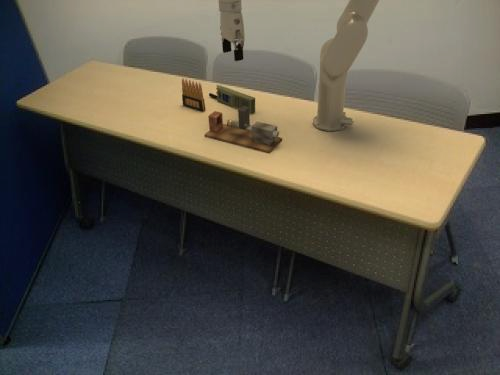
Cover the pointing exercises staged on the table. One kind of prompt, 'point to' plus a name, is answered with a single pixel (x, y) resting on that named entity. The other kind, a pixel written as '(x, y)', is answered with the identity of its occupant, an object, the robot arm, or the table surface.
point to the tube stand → (243, 134)
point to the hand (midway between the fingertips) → (232, 56)
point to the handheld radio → (234, 98)
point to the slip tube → (245, 121)
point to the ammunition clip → (192, 96)
